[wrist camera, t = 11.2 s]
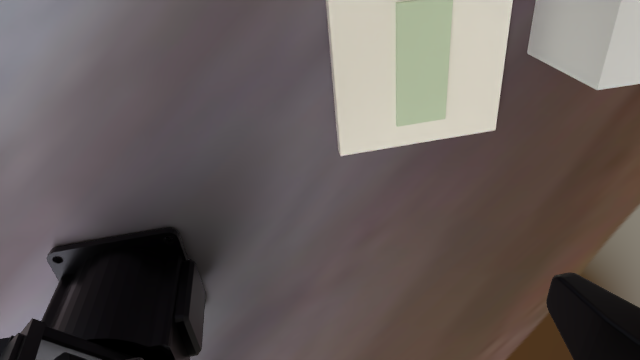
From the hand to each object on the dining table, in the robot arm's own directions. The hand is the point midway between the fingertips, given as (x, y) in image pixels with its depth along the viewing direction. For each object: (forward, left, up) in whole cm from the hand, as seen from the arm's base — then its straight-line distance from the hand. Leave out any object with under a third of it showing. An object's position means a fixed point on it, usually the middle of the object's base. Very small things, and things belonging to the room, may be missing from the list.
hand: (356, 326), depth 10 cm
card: (+6, +1, -13) cm, 14 cm away
